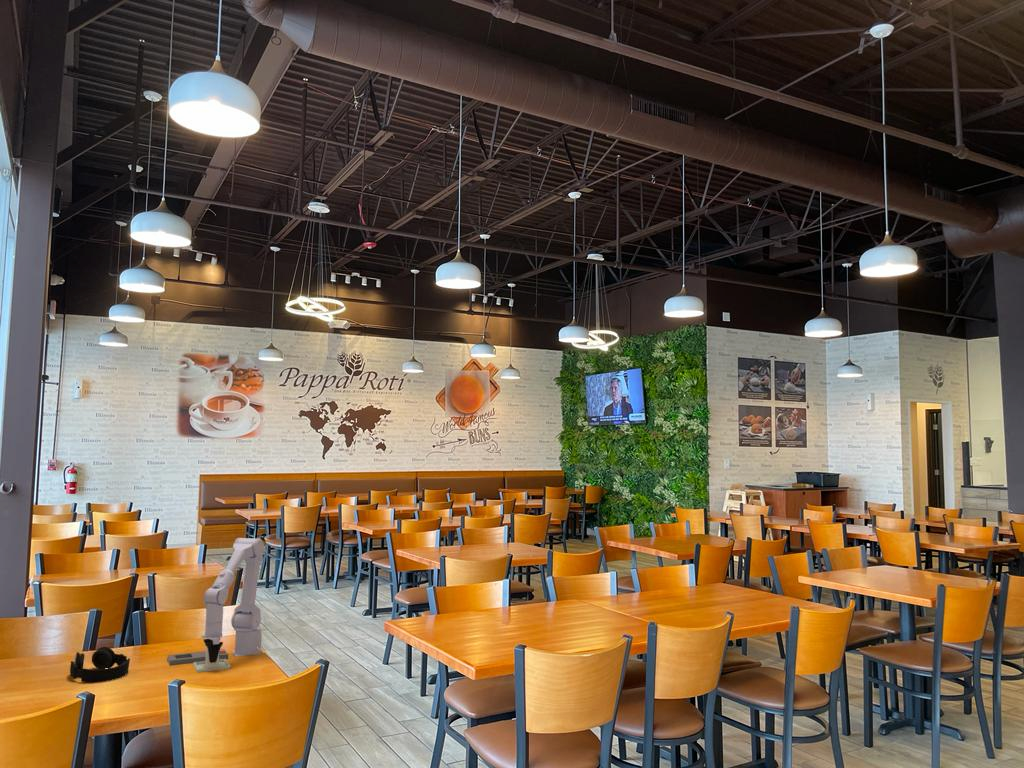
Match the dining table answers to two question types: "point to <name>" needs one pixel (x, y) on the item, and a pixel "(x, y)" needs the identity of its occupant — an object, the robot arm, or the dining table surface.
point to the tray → (202, 668)
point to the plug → (207, 662)
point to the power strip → (193, 657)
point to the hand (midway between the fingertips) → (212, 660)
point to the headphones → (100, 666)
